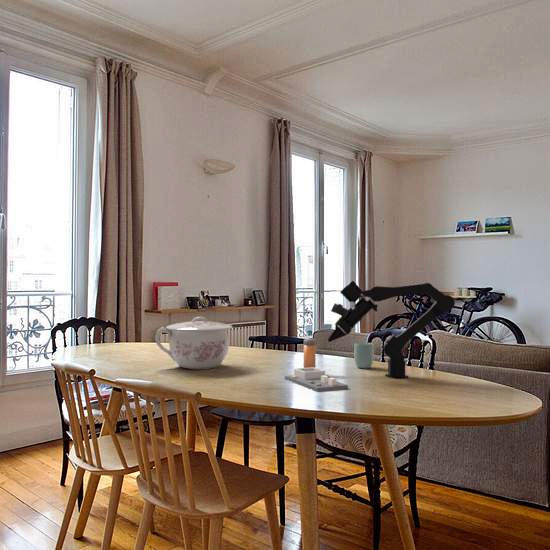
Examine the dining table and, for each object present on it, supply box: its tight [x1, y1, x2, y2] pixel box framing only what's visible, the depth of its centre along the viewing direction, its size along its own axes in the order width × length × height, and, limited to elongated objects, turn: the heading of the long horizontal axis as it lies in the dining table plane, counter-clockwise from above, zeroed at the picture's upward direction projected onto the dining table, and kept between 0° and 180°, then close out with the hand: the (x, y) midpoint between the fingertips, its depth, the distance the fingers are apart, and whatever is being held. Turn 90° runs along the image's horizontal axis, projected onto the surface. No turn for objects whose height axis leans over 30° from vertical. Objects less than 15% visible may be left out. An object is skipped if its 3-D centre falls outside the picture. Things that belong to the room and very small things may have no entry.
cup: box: [353, 341, 375, 369], centre depth 230 cm, size 8×8×10 cm
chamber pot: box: [154, 316, 234, 370], centre depth 230 cm, size 28×28×21 cm
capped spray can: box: [303, 338, 317, 368], centre depth 216 cm, size 5×5×13 cm
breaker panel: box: [284, 367, 349, 392], centre depth 196 cm, size 24×12×4 cm, turn 25°
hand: (329, 339), depth 215 cm, fingers open, 9 cm apart
